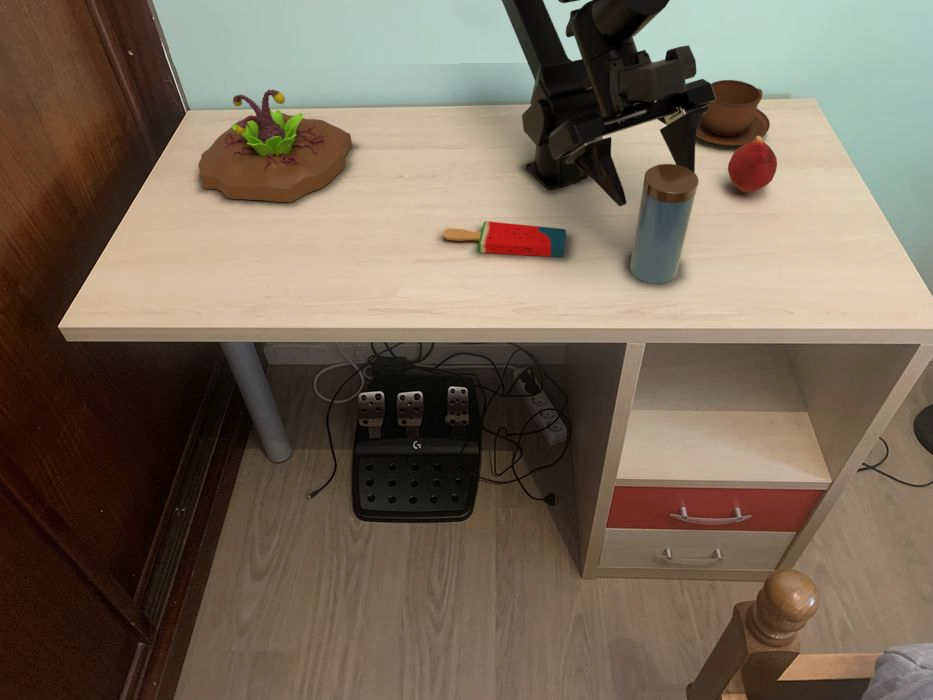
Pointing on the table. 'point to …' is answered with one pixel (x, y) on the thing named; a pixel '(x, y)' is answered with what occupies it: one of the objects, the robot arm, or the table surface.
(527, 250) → the popsicle
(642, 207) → the spice jar
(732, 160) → the onion
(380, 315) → the table surface
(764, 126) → the cup and saucer
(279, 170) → the plant
